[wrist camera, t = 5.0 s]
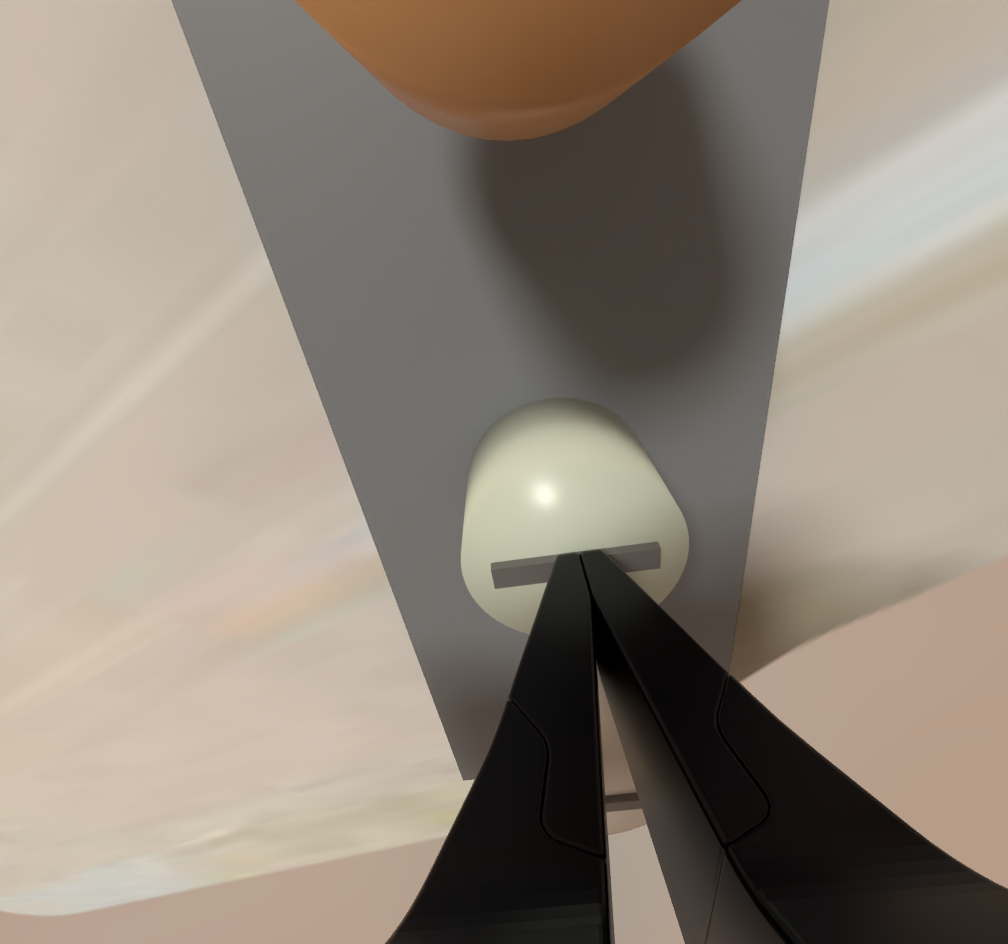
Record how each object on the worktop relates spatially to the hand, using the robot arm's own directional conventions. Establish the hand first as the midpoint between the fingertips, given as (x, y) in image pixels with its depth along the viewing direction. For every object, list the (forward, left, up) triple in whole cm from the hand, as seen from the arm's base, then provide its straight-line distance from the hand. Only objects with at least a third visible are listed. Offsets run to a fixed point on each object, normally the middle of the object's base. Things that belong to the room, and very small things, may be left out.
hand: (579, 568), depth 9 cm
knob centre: (0, 0, -7) cm, 7 cm away
